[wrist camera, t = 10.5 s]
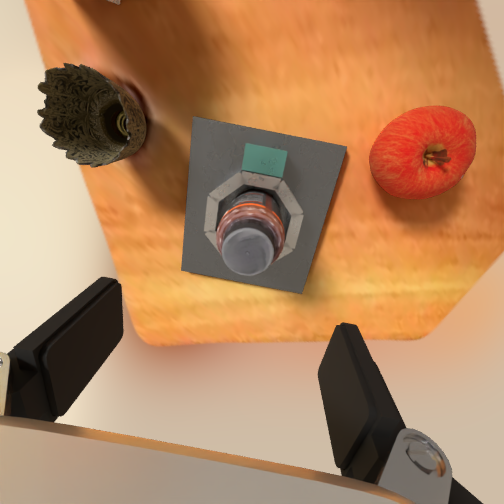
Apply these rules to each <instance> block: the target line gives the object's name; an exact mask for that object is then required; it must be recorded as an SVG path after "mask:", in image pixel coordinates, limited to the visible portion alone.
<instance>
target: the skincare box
mask: <svg viewBox="0 0 504 504" xmlns="http://www.w3.org/2000/svg"><path fill="white" fill-rule="evenodd" d="M108 1H110V2H113V3H115V4H118V5H120V0H108Z"/></svg>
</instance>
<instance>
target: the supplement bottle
mask: <svg viewBox="0 0 504 504" xmlns="http://www.w3.org/2000/svg"><path fill="white" fill-rule="evenodd" d="M284 242H285V233H284V227H283V221H282V216H281V211H280V207H279V205H278V203H277V201H276V200H275V199H274V198H273V197H272V196H271V195H270V194H268V193H267V192H265V191H262V190H255V189H254V190H247V191H244V192H242V193H241V194H239V195H238V196H237V197H236V198H235V199H234V200H233V201H232V203H231V205H230V206H229V208H228V210H227V211H226V213H225V214H224V216H223V218H222V219H221V221H220V223H219V225H218V228H217V232H216V244H217V247H218V250H219V253H220V254H221V255H222V257H223V260H224V262H225V264H226V265H227V267H228V268H229V269H230V270H232V271H233V272H235V273H237V274H240V275H243V276H254V275H257V274H260V273H262V272H263V271H265V270H266V269H267V268H268V267H269V266H270V265H272V264H273V263H274V262H275V261H276V260H277V259H278V257H279V256H280V254H281V253H282V250H283V247H284Z"/></svg>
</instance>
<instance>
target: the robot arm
mask: <svg viewBox="0 0 504 504" xmlns="http://www.w3.org/2000/svg"><path fill="white" fill-rule="evenodd" d="M122 336H123V310H122V287H121V284H120V283H118V281H117V280H116V279H113V278H107V277H101V278H99V279H98V280H96V282H94V283H93V284H92V285H91V286H89V287H88V288H87V289H85V290H84V291H83V292H82V293H80V294H79V295H78V296H77V297H75V298H74V299H73V300H72V301H70V302H69V303H68V304H67V305H65V306H64V307H63V308H62V309H60V310H59V311H58V312H57V313H55V314H54V315H53V316H52V317H51V318H49V319H48V320H47V321H46V322H44V323H43V324H42V325H41V326H39V327H38V328H37V329H36V330H35V331H33V332H32V333H31V334H29V335H28V336H27V337H26V338H24V339H23V340H22V341H21V342H20V343H18V344H17V345H16V346H14V347H13V348H14V349H12V350H11V351H10V352H9V353H8V354H6V353H3V352H0V504H483V503H482V502H481V501H479V500H478V499H477V498H476V497H475V496H474V495H472V494H471V493H470V492H469V491H468V490H467V489H465V488H464V487H463V486H462V485H461V484H460V483H458V482H457V481H456V480H455V479H454V478H453V477H452V468H451V466H450V463H449V460H448V459H447V457H446V455H445V454H444V452H443V451H442V450H441V449H440V447H439V446H438V445H437V444H436V443H435V442H434V441H433V440H431V438H429V437H428V436H426V435H425V434H423V433H422V432H420V431H417V430H415V429H409V428H406V426H405V424H404V422H403V420H402V417H401V415H400V413H399V411H398V409H397V407H396V405H395V403H394V400H393V398H392V397H391V394H390V392H389V390H388V388H387V386H386V383H385V381H384V379H383V377H382V375H381V373H380V371H379V369H378V366H377V365H376V363H375V362H374V361H373V359H372V357H371V355H370V353H369V350H368V348H367V346H366V344H365V342H364V340H363V337H362V335H361V333H360V331H359V329H358V327H357V325H354V324H349V323H341V324H340V325H337V326H336V327H335V330H334V332H333V335H332V337H331V340H330V342H329V345H328V347H327V349H326V352H325V355H324V357H323V359H322V362H321V364H320V367H319V370H318V380H319V384H320V390H321V395H322V400H323V405H324V410H325V415H326V420H327V425H328V430H329V435H330V440H331V445H332V449H333V455H334V460H335V464H336V466H337V467H338V468H340V469H341V474H342V476H339V475H334V474H329V473H325V472H320V471H314V470H310V469H306V468H301V467H295V466H290V465H285V464H279V463H274V462H269V461H264V460H258V459H253V458H248V457H243V456H238V455H232V454H227V453H221V452H216V451H210V450H205V449H200V448H194V447H189V446H184V445H178V444H173V443H167V442H162V441H156V440H151V439H145V438H140V437H135V436H129V435H123V434H118V433H111V432H106V431H101V430H95V429H90V428H84V427H78V426H73V425H66V424H60V423H54V421H55V420H56V419H57V418H58V417H59V416H63V415H64V414H65V413H66V412H67V411H68V409H69V408H70V407H71V405H72V404H73V403H74V401H75V400H76V399H77V397H78V396H79V395H80V393H81V392H82V391H83V389H84V388H85V387H86V385H87V384H88V383H89V382H90V380H91V379H92V377H93V376H94V375H95V374H96V372H97V371H98V370H99V368H100V367H101V366H102V364H103V363H104V362H105V360H106V359H107V358H108V356H109V355H110V353H111V352H112V351H113V349H114V348H115V347H116V346H117V344H118V343H119V342H120V340H121V338H122Z"/></svg>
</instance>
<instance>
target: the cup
mask: <svg viewBox="0 0 504 504" xmlns="http://www.w3.org/2000/svg"><path fill="white" fill-rule="evenodd" d="M63 64H64V66H65V68H57V67H56V68H52V69H49V70H46V71H45V82H41V83H40V84H39V85H38V89H39V91H41V92H42V93H44V94H46V95H47V96H46V99H45V100H44V103H45V108H43V109H42V110H38V111H37V113H38V115H39V116H41V117H43V118H44V119H43V120H42V122H41V124H40V128H41V129H42V131H43V132H45V133H46V134H47V135H49V136H51V137H52V138H54V139H55V140H56V141H55V142H53V144H52V146H53V147H55V148H58V149H63V150H67V152H66V158H68V159H71V160H75V161H76V163H77V164H79V165H90V166H91V167H98V166H102V165H108V164H110V163H113V162H116V161H119V160H122V159H125V158H127V157H129V156H131V155H133V154H134V153H135V152H136V151H138V150H139V148H140V147H141V146H142V144H143V142H144V140H145V136H146V121H145V117H144V114H143V112H142V110H141V108H140V106H139V104H138V103H137V102H136V100H135V99H134V98H133V97H132V96H131V95H130V94H129V93H128V92H127V91H126V90H124V89H123V88H122V87H120V86H119V85H117V84H116V83H114V82H113V81H111V80H110V79H108V78H106V77H105V76H103V75H102V74H100V73H99V72H98V71H96V70H95V69H93V68H90V67H87V66H85V65H82V64H80V65H79V67H78V66H75V65H73V64H68V63H63ZM126 118H127V120H126V126H127V131H128V132H127V131H126V129H125V128H124V120H125V119H126Z"/></svg>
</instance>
